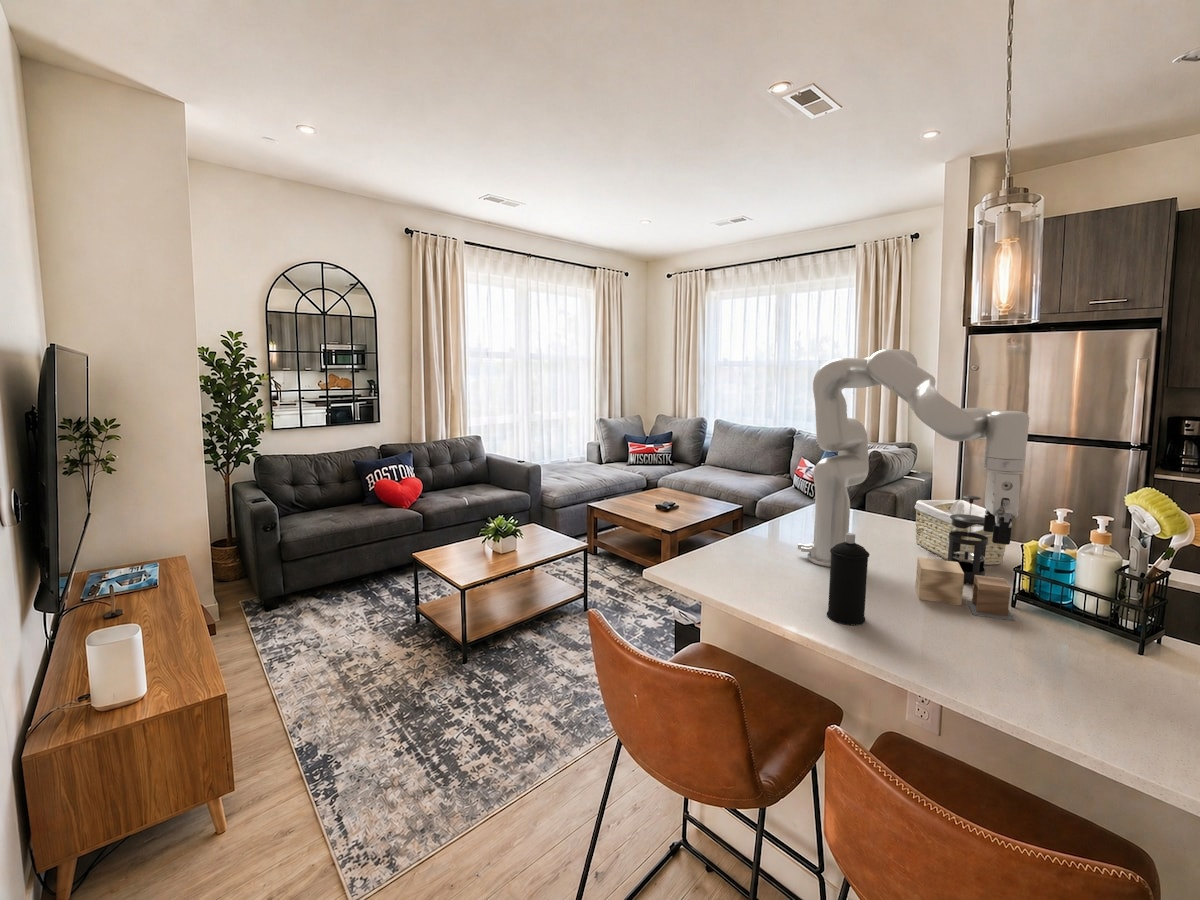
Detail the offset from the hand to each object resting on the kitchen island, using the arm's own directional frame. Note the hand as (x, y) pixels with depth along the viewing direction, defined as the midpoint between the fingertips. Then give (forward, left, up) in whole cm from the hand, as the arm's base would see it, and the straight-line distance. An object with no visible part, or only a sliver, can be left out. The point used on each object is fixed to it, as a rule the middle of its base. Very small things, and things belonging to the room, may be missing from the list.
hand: (995, 537), depth 129 cm
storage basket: (0, +45, -18) cm, 49 cm away
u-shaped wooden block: (0, 0, -18) cm, 18 cm away
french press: (-2, +22, -18) cm, 29 cm away
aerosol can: (-31, -18, -18) cm, 40 cm away
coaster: (0, 0, -18) cm, 18 cm away
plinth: (-10, +5, -18) cm, 21 cm away
